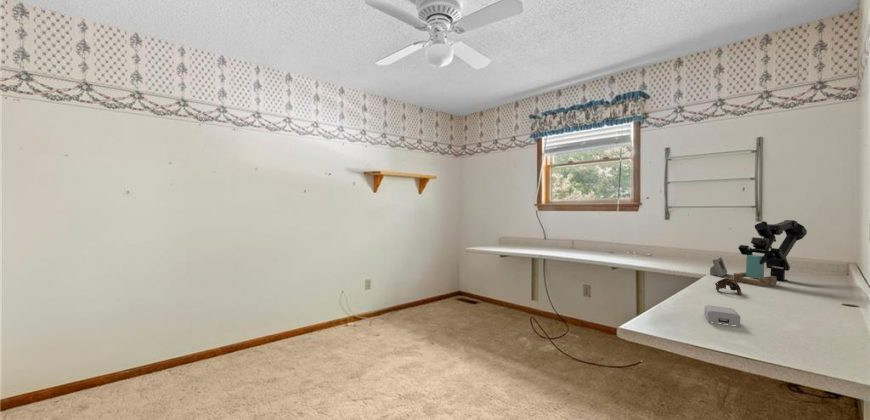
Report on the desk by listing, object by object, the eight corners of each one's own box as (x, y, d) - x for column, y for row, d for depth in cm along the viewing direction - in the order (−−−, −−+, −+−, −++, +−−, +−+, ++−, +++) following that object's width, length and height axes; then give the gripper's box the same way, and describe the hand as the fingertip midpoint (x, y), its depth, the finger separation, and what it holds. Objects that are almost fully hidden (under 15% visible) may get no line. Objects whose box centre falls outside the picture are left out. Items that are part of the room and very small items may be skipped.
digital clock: (722, 277, 215) (722, 259, 215) (704, 274, 223) (705, 257, 222) (733, 274, 224) (734, 257, 223) (716, 272, 231) (716, 255, 231)
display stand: (745, 279, 210) (746, 271, 210) (776, 284, 197) (776, 276, 197) (733, 281, 205) (733, 273, 205) (764, 286, 192) (764, 278, 192)
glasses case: (751, 275, 205) (752, 254, 204) (763, 277, 200) (764, 256, 199) (746, 275, 202) (746, 255, 202) (758, 277, 197) (758, 256, 197)
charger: (731, 316, 142) (740, 328, 129) (701, 312, 146) (707, 323, 133) (731, 304, 142) (740, 314, 129) (702, 300, 146) (708, 310, 133)
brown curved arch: (740, 297, 171) (730, 281, 173) (719, 302, 179) (709, 286, 181) (748, 288, 178) (737, 272, 180) (727, 292, 186) (717, 277, 187)
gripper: (740, 230, 210) (728, 250, 206) (781, 233, 193) (769, 255, 189) (748, 243, 214) (736, 263, 210) (789, 247, 197) (777, 269, 193)
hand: (753, 263), depth 200 cm, fingers closed on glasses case, 5 cm apart
